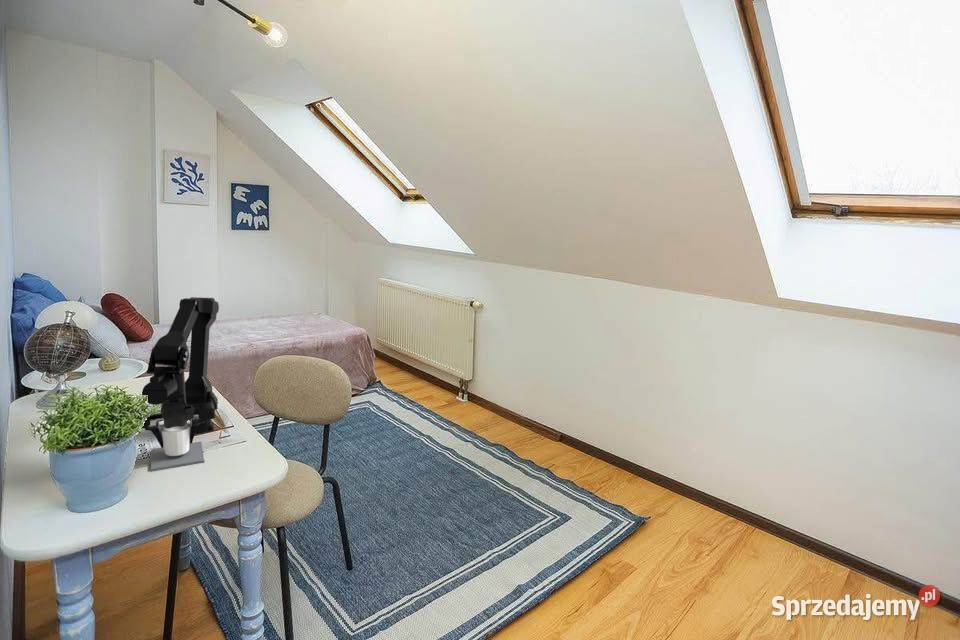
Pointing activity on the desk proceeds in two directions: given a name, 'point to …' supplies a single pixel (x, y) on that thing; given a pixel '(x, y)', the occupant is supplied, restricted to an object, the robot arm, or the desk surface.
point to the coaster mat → (176, 457)
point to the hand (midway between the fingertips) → (176, 445)
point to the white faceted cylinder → (176, 439)
